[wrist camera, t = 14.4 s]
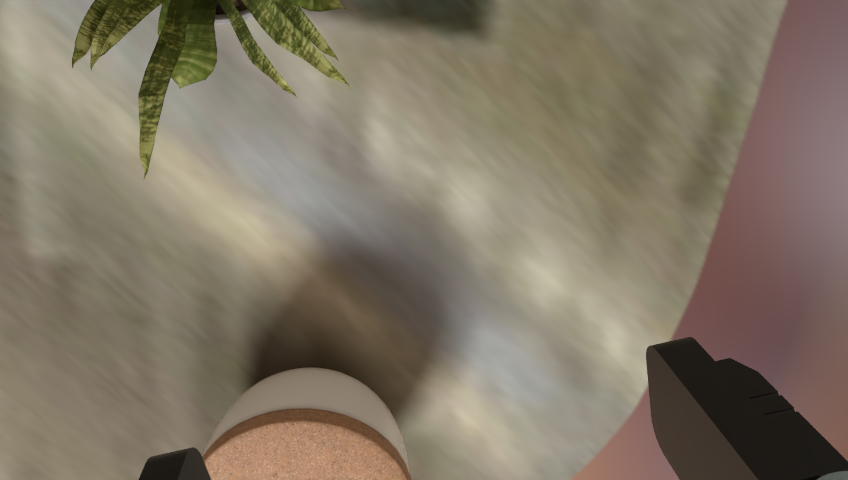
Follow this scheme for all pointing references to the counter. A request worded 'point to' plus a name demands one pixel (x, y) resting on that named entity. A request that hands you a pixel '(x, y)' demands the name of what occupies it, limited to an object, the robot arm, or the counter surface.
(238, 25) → the house plant
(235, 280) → the counter surface
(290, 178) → the counter surface
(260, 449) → the lidded bowl
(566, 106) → the counter surface
